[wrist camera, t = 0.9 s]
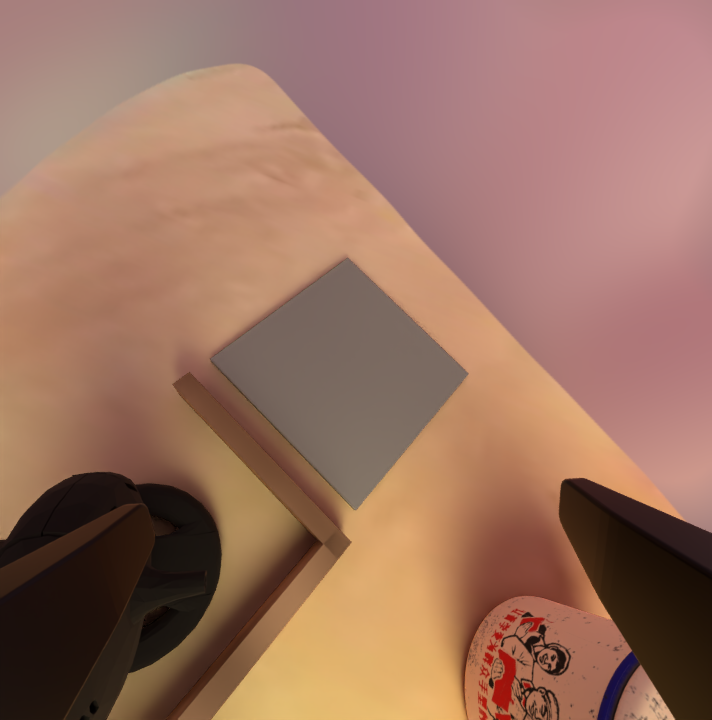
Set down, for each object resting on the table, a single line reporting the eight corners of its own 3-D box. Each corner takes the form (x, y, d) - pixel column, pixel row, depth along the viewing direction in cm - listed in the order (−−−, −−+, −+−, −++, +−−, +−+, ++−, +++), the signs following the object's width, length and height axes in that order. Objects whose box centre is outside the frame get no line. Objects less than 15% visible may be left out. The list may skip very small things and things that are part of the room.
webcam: (59, 488, 17) (-152, 471, 8) (225, 476, 19) (199, 451, 10) (22, 691, 15) (-355, 996, 6) (218, 652, 17) (176, 828, 8)
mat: (354, 510, 20) (356, 510, 20) (211, 361, 21) (210, 358, 21) (465, 375, 25) (468, 373, 25) (346, 261, 26) (347, 257, 26)
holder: (65, 880, 13) (34, 941, 11) (-132, 629, 14) (-189, 648, 12) (342, 538, 20) (351, 542, 18) (195, 383, 21) (189, 372, 19)
